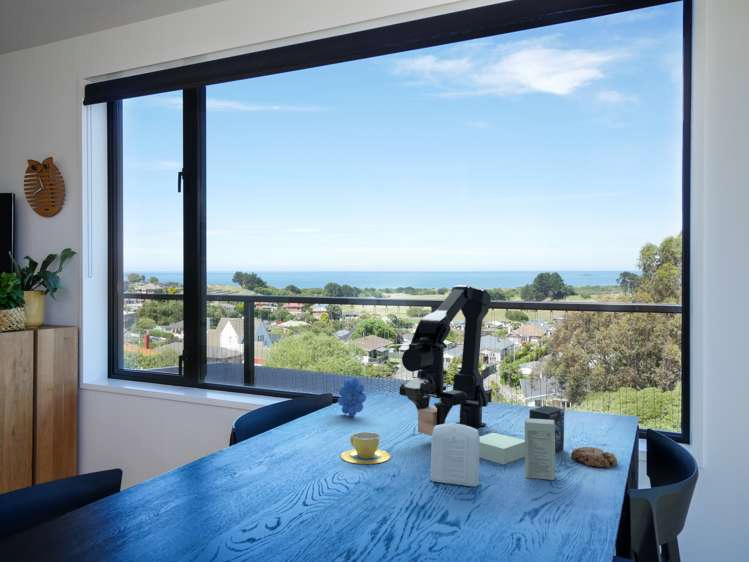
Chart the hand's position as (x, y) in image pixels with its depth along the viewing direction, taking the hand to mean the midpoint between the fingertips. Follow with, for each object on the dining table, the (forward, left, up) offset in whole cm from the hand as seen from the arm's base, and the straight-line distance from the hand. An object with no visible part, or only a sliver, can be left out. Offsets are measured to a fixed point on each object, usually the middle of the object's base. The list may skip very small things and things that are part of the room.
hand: (431, 426), depth 157 cm
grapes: (-4, -35, -4) cm, 36 cm away
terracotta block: (0, 0, -2) cm, 2 cm away
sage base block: (-4, +18, -5) cm, 19 cm away
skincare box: (+2, +33, -4) cm, 33 cm away
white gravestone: (+19, +23, -4) cm, 30 cm away
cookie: (-17, +36, -5) cm, 40 cm away
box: (-16, +24, -4) cm, 29 cm away
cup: (+21, -2, -5) cm, 22 cm away
